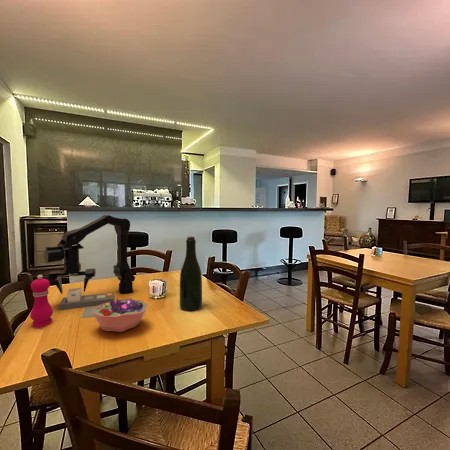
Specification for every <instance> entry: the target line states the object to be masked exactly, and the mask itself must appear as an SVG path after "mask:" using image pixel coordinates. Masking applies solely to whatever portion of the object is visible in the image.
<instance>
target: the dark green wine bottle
mask: <svg viewBox="0 0 450 450" xmlns="http://www.w3.org/2000/svg"><path fill="white" fill-rule="evenodd" d="M196 243H197V240H196V238H195V236H187V239H186V241H185V244H186V246H185V247H186V249H185V258H184V261H183V264H182V266H181V268H180V273H179V274H180V275H179V309H181V310H182V311H187V312H192V311H193V312H195V311H198V310H199V309H201V308H202V307H203V277H202V269H201V266H200V263H199V261H198V258H197V251H196V249H197V248H196V247H197V246H196Z"/></svg>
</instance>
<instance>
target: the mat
mask: <svg viewBox="0 0 450 450" xmlns="http://www.w3.org/2000/svg"><path fill="white" fill-rule="evenodd" d="M96 307H97V306H92V307H84V310H83V313H82V315H81V319H85V318H93V317H94V318H95V316H94V314H93V313H92V310H93V309H94V308H96Z"/></svg>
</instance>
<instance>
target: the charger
mask: <svg viewBox="0 0 450 450" xmlns="http://www.w3.org/2000/svg"><path fill="white" fill-rule="evenodd" d="M82 294H83V293H82V287H79V288H68V290H67V292H66V297H67V303H68V302H78V301H80V300H81V298H82V296H83V295H82Z"/></svg>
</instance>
